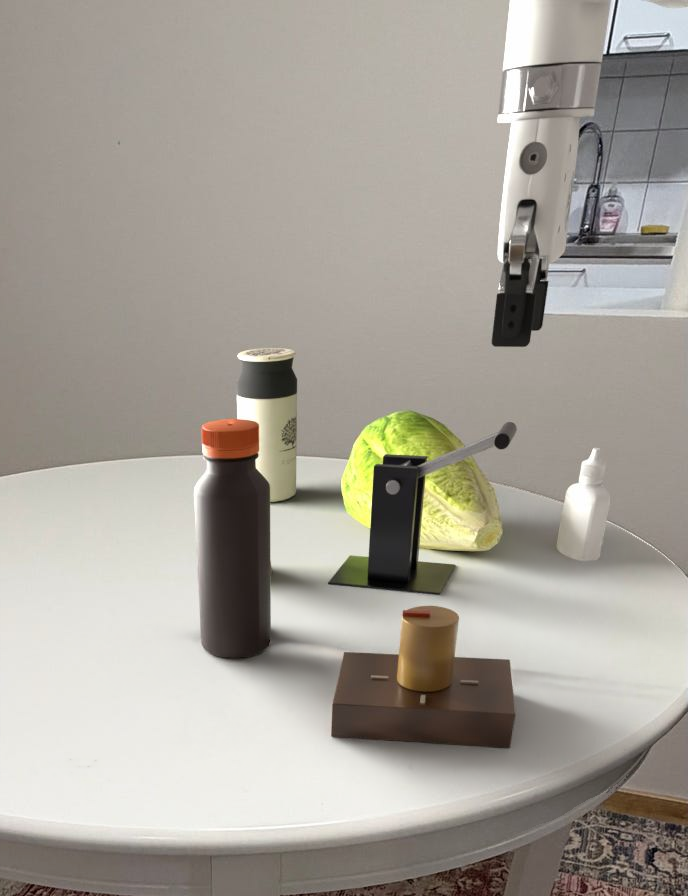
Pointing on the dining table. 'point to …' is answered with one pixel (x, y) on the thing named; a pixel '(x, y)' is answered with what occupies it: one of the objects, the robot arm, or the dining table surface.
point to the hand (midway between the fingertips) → (517, 337)
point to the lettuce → (426, 483)
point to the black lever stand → (395, 535)
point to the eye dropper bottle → (585, 512)
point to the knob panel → (424, 703)
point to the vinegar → (233, 542)
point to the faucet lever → (469, 450)
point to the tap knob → (427, 648)
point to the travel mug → (271, 414)
